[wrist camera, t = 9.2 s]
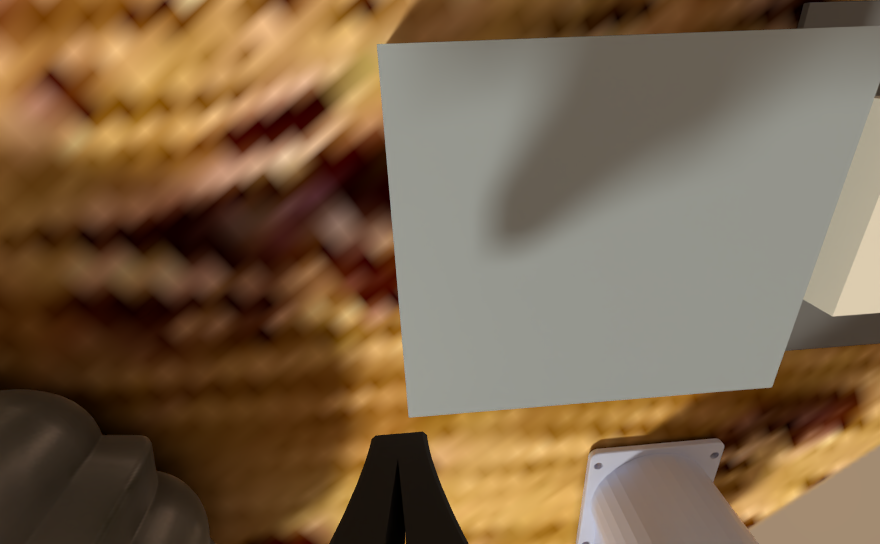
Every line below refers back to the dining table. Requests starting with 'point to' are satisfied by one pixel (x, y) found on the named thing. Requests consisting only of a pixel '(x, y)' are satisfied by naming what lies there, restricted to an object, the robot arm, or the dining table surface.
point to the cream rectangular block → (853, 235)
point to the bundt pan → (85, 481)
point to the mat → (811, 321)
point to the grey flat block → (612, 207)
